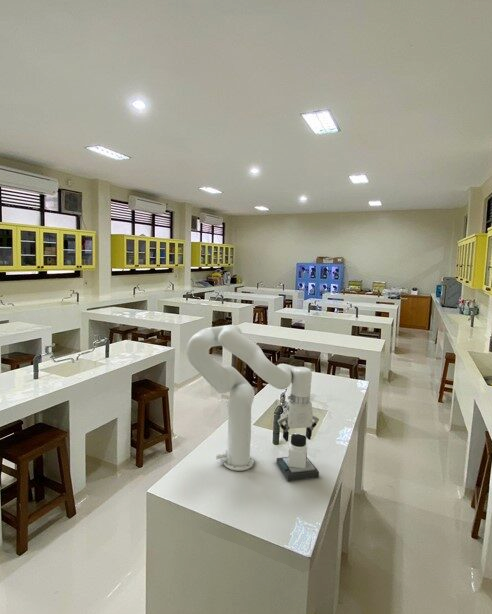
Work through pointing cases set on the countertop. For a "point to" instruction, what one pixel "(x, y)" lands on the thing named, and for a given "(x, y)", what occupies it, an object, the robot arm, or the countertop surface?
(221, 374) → the robot arm
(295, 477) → the lab scale
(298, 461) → the medicine bottle
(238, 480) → the countertop surface
